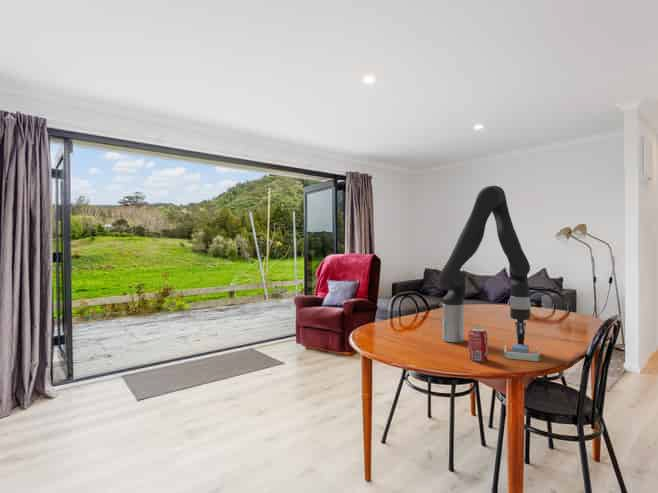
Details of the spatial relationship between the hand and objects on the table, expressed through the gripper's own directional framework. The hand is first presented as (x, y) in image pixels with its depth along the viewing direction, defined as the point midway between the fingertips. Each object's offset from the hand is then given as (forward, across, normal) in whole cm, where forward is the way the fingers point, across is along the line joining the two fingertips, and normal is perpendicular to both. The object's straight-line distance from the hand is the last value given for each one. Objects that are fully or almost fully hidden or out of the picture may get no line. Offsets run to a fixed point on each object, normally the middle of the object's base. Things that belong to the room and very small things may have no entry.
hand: (520, 348), depth 158 cm
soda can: (+2, -16, +16) cm, 23 cm away
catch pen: (+2, -5, 0) cm, 5 cm away
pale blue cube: (+2, -5, 0) cm, 5 cm away
